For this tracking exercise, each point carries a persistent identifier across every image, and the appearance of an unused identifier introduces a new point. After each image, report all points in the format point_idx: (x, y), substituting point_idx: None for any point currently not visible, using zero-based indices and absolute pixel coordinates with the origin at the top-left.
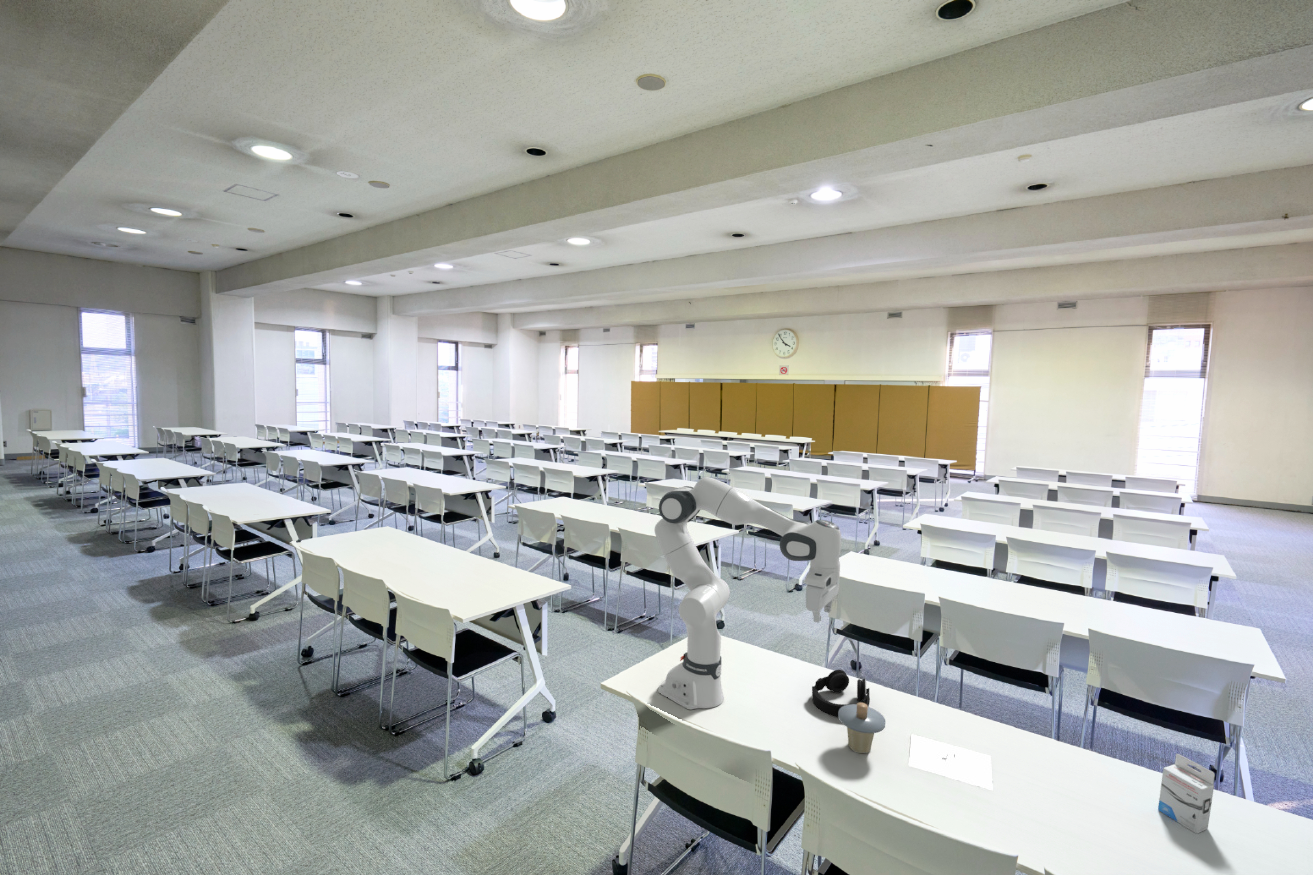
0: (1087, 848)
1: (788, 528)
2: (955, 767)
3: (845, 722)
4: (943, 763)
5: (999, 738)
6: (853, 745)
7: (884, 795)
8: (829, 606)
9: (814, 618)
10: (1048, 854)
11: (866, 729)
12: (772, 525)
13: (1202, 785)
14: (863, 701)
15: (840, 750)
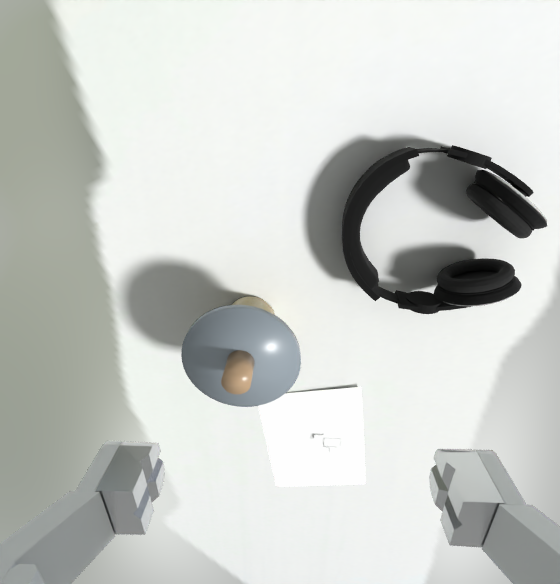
0: (231, 552)
1: None
2: (300, 449)
3: (185, 338)
4: (299, 435)
5: None
6: None
7: (143, 381)
8: (489, 535)
9: (92, 471)
10: (189, 528)
11: (193, 381)
12: None
13: None
14: (399, 306)
15: (212, 288)
